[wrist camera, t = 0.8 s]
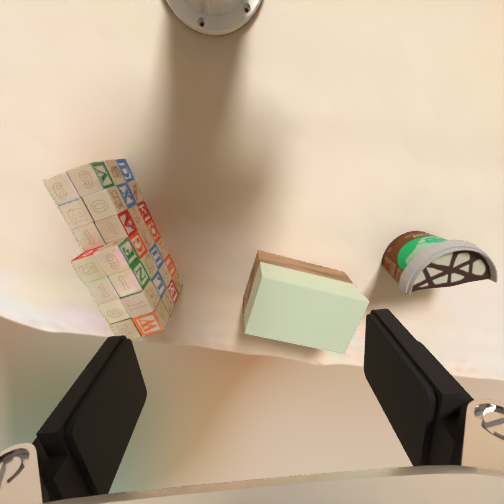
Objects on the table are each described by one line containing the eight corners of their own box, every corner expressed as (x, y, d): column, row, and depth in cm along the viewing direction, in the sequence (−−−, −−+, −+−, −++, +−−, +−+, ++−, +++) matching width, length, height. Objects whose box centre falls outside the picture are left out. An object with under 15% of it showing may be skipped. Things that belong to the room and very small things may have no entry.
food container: (451, 217, 43) (509, 237, 34) (448, 253, 45) (501, 281, 36) (372, 230, 43) (407, 254, 34) (373, 265, 46) (406, 296, 36)
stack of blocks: (85, 171, 39) (19, 182, 28) (125, 157, 39) (75, 163, 27) (150, 296, 47) (119, 345, 35) (184, 286, 46) (164, 332, 35)
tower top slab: (260, 261, 40) (262, 276, 35) (355, 284, 41) (369, 302, 37) (244, 313, 43) (244, 333, 38) (333, 332, 45) (344, 354, 40)
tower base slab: (257, 249, 44) (259, 261, 40) (343, 271, 46) (354, 285, 42) (243, 296, 47) (243, 313, 43) (324, 315, 49) (332, 332, 45)
